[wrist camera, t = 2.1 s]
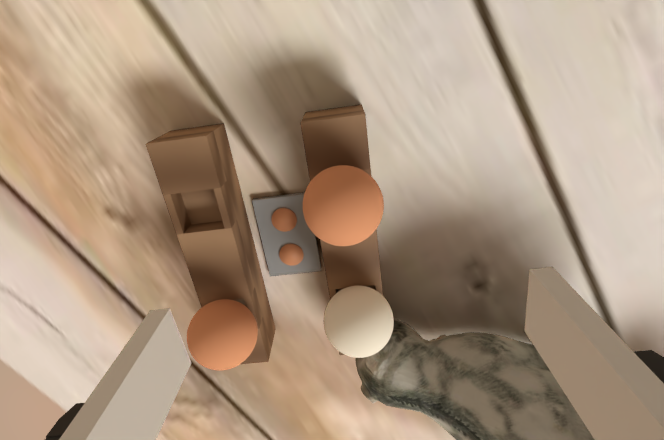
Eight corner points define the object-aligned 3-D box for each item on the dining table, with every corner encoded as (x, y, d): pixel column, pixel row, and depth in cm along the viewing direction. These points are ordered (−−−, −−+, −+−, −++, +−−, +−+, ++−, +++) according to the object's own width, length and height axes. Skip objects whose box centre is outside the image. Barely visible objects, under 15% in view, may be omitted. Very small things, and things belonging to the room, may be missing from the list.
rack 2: (305, 112, 27) (300, 122, 24) (361, 104, 27) (365, 114, 23) (339, 322, 35) (339, 355, 31) (383, 318, 35) (388, 350, 31)
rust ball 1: (192, 289, 30) (165, 334, 25) (255, 282, 29) (240, 326, 25) (209, 339, 32) (188, 388, 27) (269, 333, 31) (257, 383, 27)
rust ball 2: (300, 160, 25) (291, 186, 21) (376, 150, 25) (384, 175, 20) (312, 228, 27) (306, 265, 23) (382, 220, 27) (391, 256, 22)
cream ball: (320, 275, 29) (316, 319, 24) (386, 268, 28) (395, 311, 24) (329, 327, 31) (327, 376, 26) (391, 321, 31) (400, 370, 26)
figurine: (560, 251, 35) (353, 281, 30) (795, 481, 21) (490, 614, 16) (517, 316, 41) (339, 351, 36) (679, 528, 27) (430, 635, 22)
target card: (253, 198, 30) (251, 201, 30) (308, 192, 30) (307, 194, 29) (270, 273, 33) (269, 277, 32) (321, 268, 33) (321, 271, 32)
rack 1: (170, 130, 28) (145, 144, 24) (223, 123, 28) (206, 135, 24) (233, 333, 36) (221, 365, 32) (275, 329, 36) (268, 361, 32)
